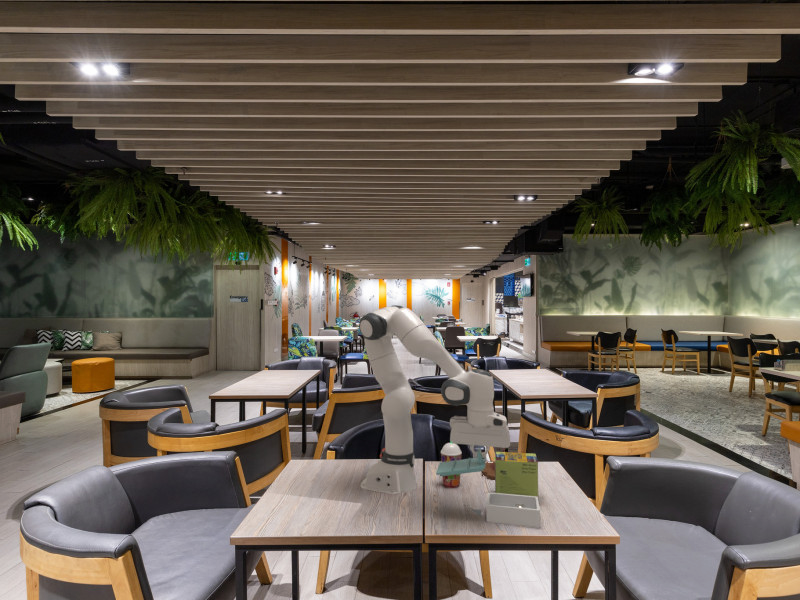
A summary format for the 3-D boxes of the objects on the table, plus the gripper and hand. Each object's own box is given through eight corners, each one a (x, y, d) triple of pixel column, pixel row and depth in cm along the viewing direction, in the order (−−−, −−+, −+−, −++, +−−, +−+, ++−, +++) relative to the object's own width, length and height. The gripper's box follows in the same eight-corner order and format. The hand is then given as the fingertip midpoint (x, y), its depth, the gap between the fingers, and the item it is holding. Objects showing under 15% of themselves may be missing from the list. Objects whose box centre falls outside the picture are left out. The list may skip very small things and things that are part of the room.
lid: (437, 477, 153) (433, 461, 154) (440, 467, 164) (437, 451, 164) (485, 471, 150) (482, 454, 150) (486, 461, 160) (483, 445, 160)
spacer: (515, 517, 154) (515, 507, 154) (515, 513, 158) (515, 503, 158) (525, 518, 154) (525, 508, 154) (524, 514, 157) (524, 504, 157)
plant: (526, 467, 205) (526, 442, 205) (531, 484, 186) (531, 456, 186) (480, 464, 208) (480, 440, 208) (481, 481, 189) (481, 454, 189)
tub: (486, 523, 151) (486, 505, 151) (487, 509, 162) (487, 492, 162) (540, 529, 147) (539, 510, 148) (537, 513, 158) (537, 496, 158)
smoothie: (448, 491, 177) (448, 440, 178) (437, 484, 185) (436, 434, 185) (466, 487, 181) (465, 437, 181) (454, 480, 189) (453, 432, 189)
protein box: (538, 505, 165) (538, 462, 165) (495, 502, 168) (495, 459, 168) (536, 494, 175) (535, 453, 175) (495, 490, 178) (494, 451, 178)
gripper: (448, 417, 155) (448, 458, 155) (510, 421, 151) (510, 463, 150) (450, 413, 161) (450, 452, 161) (510, 417, 157) (509, 457, 157)
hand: (479, 458), depth 156 cm, fingers closed on lid, 2 cm apart
